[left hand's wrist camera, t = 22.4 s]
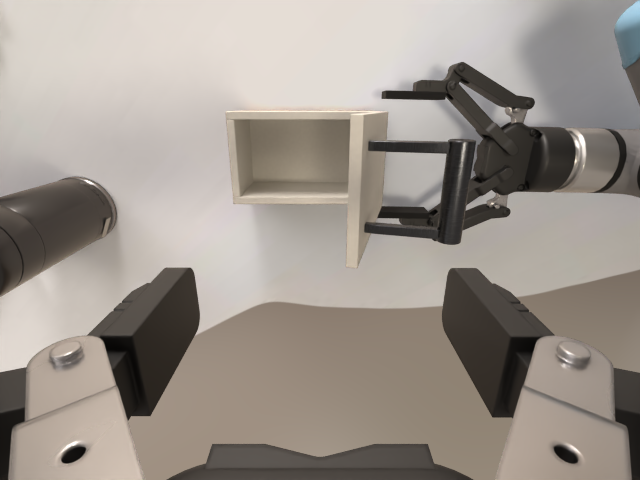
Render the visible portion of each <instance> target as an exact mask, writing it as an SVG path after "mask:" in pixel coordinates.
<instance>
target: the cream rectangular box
mask: <svg viewBox="0 0 640 480" xmlns="http://www.w3.org/2000/svg"><path fill="white" fill-rule="evenodd" d="M371 112H382V111H226V119H227V120H226V122H227V134H228V145H229V156H230V168H231V179H232V190H233V202H234V204H348V183H349V150H350V116H351V114H360V113H371Z"/></svg>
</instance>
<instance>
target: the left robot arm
mask: <svg viewBox="0 0 640 480" xmlns="http://www.w3.org/2000/svg"><path fill="white" fill-rule="evenodd" d="M115 222H116V208H115V205H114V202H113V200H112V198H111V197H110V195H109V194H108V193H107V192H106V190H105V189H103V188H102V187H101V186H100V185H99V184H97V183H95V182H94V181H92V180H89V179H86V178H82V177H69V178H65V179H62V180H59V181H57V182H54V183H50V184H46V185H42V186H39V187H35V188H32V189H28V190H24V191H21V192H17V193H14V194H10V195H7V196H3V197H0V297H1V296H3V295H4V294H6V293H8V292H9V291H11V290H13V289H15V288H16V287H18V286H20V285H21V284H23V283H25V282H26V281H28V280H30V279H31V278H33V277H35V276H36V275H38V274H40V273H41V272H43V271H45V270H46V269H48V268H50V267H51V266H53V265H55V264H57V263H58V262H60V261H62V260H63V259H65V258H67V257H68V256H70V255H72V254H73V253H75V252H77V251H79V250H80V249H82V248H84V247H85V246H87V245H89V244H91V243H92V242H94V241H96V240H98V239H100V238H103V237H105V236H106V235H107V234H108V233H109V232H110V231H111V230H112V229H113V227H114V225H115ZM199 320H200V311H199V304H198V297H197V289H196V282H195V276H194V272H193V270H192V269H191V268H165V269H164V270H163V271H162V272H161V273H160V274H159V275H158V276H157V277H156V278H155V279H154V280H153V281H152V282H151V283H147V284H145V285H143V286H141V287H139V288H137V289H136V290H134V291H132V292H131V293H130V294H129V295H128V296H127V297H126V298H125V299H124V300H123V301H122V303H120V304H119V305H118V306H117V307H116V308H115V309H114V311H112V312H111V313H110V314H109V315H107V316H106V317H105V318H104V319H103V320H102V321H101V322H100V323H99V324H98V325H97V326H96V327H95V328H94V329H93V330H92V331H91V332H90V333H89V334H88V335H87V336H77V337H72V338H68V339H65V340H62V341H59V342H57V343H54V344H52V345H50V346H48V347H46V348H45V349H43V350H41V351H40V352H39V353H37V354H36V355H35V356H34V357H33V358H32V359H31V360H30V361H29V363H28V365H27V367H26V368H21V369H15V370H10V371H5V372H0V480H145V477H144V474H143V471H142V467H141V464H140V461H139V457H138V454H137V451H136V447H135V444H134V440H133V437H132V433H131V430H130V427H129V423H128V420H129V419H130V417H131V416H151V414H152V412H153V410H154V408H155V407H156V405H157V403H158V401H159V399H160V397H161V396H162V394H163V392H164V390H165V388H166V387H167V385H168V383H169V381H170V379H171V378H172V376H173V374H174V372H175V370H176V368H177V367H178V365H179V363H180V361H181V359H182V357H183V356H184V354H185V352H186V350H187V348H188V347H189V345H190V343H191V341H192V339H193V338H194V336H195V334H196V332H197V330H198V326H199ZM442 322H443V327H444V331H445V333H446V335H447V337H448V338H449V340H450V342H451V344H452V345H453V347H454V349H455V351H456V353H457V354H458V356H459V358H460V360H461V362H462V363H463V365H464V367H465V369H466V371H467V372H468V374H469V376H470V378H471V380H472V381H473V383H474V385H475V387H476V389H477V390H478V392H479V394H480V396H481V398H482V399H483V401H484V403H485V405H486V407H487V408H488V410H489V412H490V414H491V415H492V417H512V418H513V420H512V424H511V427H510V430H509V434H508V437H507V440H506V444H505V447H504V450H503V454H502V457H501V460H500V464H499V467H498V471H497V474H496V477H495V480H640V373H637V372H632V371H627V370H622V369H617V368H613V365H612V363H611V361H610V360H609V359H608V358H607V357H606V356H605V355H604V354H603V353H601V352H600V351H599V350H597V349H595V348H594V347H592V346H590V345H588V344H586V343H583V342H581V341H578V340H575V339H572V338H568V337H563V336H555V335H554V334H553V333H552V332H551V331H550V330H549V329H548V328H547V327H546V326H545V325H544V324H543V323H542V322H541V321H539V319H538V318H536V317H535V316H534V315H533V314H532V313H531V312H529V310H528V309H527V308H526V307H525V306H524V305H523V304H520V301H519V300H518V299H517V298H516V297H515V296H514V295H513V294H512V293H511V292H509V291H507V290H506V289H504V288H502V287H500V286H498V285H496V284H492V283H491V282H490V281H489V280H488V279H487V278H486V277H485V276H484V275H483V274H482V273H481V272H480V271H479V270H478V269H476V268H451V269H450V270H449V272H448V276H447V282H446V289H445V296H444V303H443V310H442ZM167 480H473V479H471V478H469V477H468V476H465V475H463V474H461V473H459V472H457V471H455V470H452V469H449V468H447V467H444V466H441V465H437V464H434V462H433V459H432V456H431V453H430V450H429V447H428V444H373V445H369V446H366V447H361V448H357V449H353V450H349V451H345V452H342V453H337V454H333V455H329V456H325V457H315V456H311V455H307V454H303V453H299V452H295V451H291V450H287V449H283V448H279V447H275V446H271V445H267V444H212V447H211V450H210V453H209V456H208V459H207V462H206V464H203V465H199V466H196V467H193V468H191V469H188V470H185V471H183V472H181V473H179V474H177V475H175V476H172V477H171V478H169V479H167Z"/></svg>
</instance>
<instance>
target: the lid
mask: <svg viewBox="0 0 640 480" xmlns="http://www.w3.org/2000/svg"><path fill="white" fill-rule="evenodd" d="M387 123H388V112H371V113H360V114H351V116H350V150H349V183H348V217H347V250H346V267H350V268H358V265H359V263H360V260H361V258H362V255H363V252H364V250H365V247H366V245H367V242H368V240H369V237H370V235H371V233H373V234H385V235H396V236H408V237H419V238H430V239H436V240H437V241H438V242H440V243H443V244H449V245H455V244H459V243H460V242H461V236H462V230H463V223H464V217H465V210H466V204H467V197H468V191H469V184H470V177H471V171H472V164H473V158H474V151H475V145H476V141H475V140H469V139H450V140H449V141H448V142H435V141H392V140H386V138H387ZM386 152H414V153H446V154H447V155H446V163H445V171H444V179H443V187H442V195H441V203H440V211H439V219H438V227H424V226H412V225H399V224H387V223H375V222H376V219H377V217H378V214H379V212H380V209H381V207H382V199H383V184H384V169H385V153H386Z"/></svg>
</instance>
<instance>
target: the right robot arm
mask: <svg viewBox="0 0 640 480" xmlns="http://www.w3.org/2000/svg"><path fill="white" fill-rule="evenodd" d="M614 32H615V37H616V40H617V44H618V48H619V52H620V55H621V59H622V66H623V68H624V69H625V70H626V73H627V75H628V78H629V80H630V83H631V85H632V88H633V90H634V93H635V95H636V98H637V100H638V103H639V105H640V0H638V1H637V2H635V3H634V4H633V5H632V6H630V7H629V8H628V9H627V10H626V11H625V12H624V13H623V14H622V15H621V16H620V18H619V19H618V21H617V23H616V25H615V31H614ZM459 82H461V83H463V84H464V85H466V86H467V87H469V88H471V89H472V90H474V91H476V92H477V93H479V94H480V95H482V96H484V97H485V98H487V99H488V100H490V101H492V102H493V103H495V104H497V105H498V106H501V107H505V113H506V114H507V115H509V116H510V117H511V122H510V123H507V124H506V125H504V126H503V127H501V128H500V127H499V126H498V125H497V124H496V123H494V122H493V121H492V120H491V119H490V118H489V117H488V116H487V115H486V113H485V112H484V111H483V110H482V109H481V108H480V107H479V106H478V105H477V104H476V102H475V101H474V100H473V99H472V98H471V97H470V96H469V95H468V94H467V93H466V91H465V90H464V89H463V88H462V87H461V86H460V85H459ZM445 97H446V98H447V99H448V100H449V101H450V102H451V103H452V104H453V105H454V106H455V107H456V108H457V109H458V111H459V112H460V113H461V114H462V115H463V116H464V117H465V118H466V119H467V120H468V121H469V122H470V123H471V124H472V126H473V127H474V128H475V129H476V131H477V133H478V134H479V135H480V136H481V137H482V138H483V140H482V141H481V143H480V145H478V147H477V160H476V162H475V164H474V170H473V171H475V174H476V176H475V177H473V178H472V179H470V184H469V191H468V197H467V204H469V203H470V202H472V201H473V200H474V199H476V198H477V197H479V196H482V195H485V194H486V193H488V192H489V191H490V190H492V191H494V192H495V193H496V196H495V197H494V198H493V199H490V200H488V201H487V204H482V205H479V206H476V207H474V208H472V209H469V210H467V211H465V217H464V223H463V230H465V229H467V228H470V227H472V226H474V225H477V224H479V223H482V222H484V221H486V220H489V219H491V218H502V217H507V216H509V214H510V209H509V208H507V197H508V194H510V193H513V192H552V191H554V192H570V193H616V194H627V195H632V196H636V197H640V129H602V128H565V129H564V128H560V127H528V126H526V125H524V124H523V122H524V119H525V116H526V113H527V110H528V109H531V108H532V107H533V106H534V104H535V101H534V99H533V98H530V97H523V96H517V95H515V94H513V93H512V92H510V91H508V90H507V89H505V88H504V87H502V86H501V85H499V84H497V83H496V82H494V81H493V80H491V79H490V78H488V77H486V76H485V75H483V74H482V73H480V72H479V71H477V70H475V69H474V68H472V67H471V66H469V65H467V64H466V63H464V62H460V63H457V64H454V65H452V66H450V67H449V69H448V74H447V76H446V78H445V79H444V80H443V81H436V80H421V81H417V82H415V83H414V85H413V91H383V92H382V99H415V100H445ZM467 204H466V205H467ZM439 211H440V204H438V205H437V206H436V207H434V208H433V209H431V210H430V211H429V212H428V211H427V210H426V209H425V208H424V207H390V206H382V207H381V209H380V212H379V214H378V217H377V218H399V221H400V223H401V224H402V225H412V226H426V227H438V219H439ZM433 240H434V241H437V240H436V239H433Z"/></svg>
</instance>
